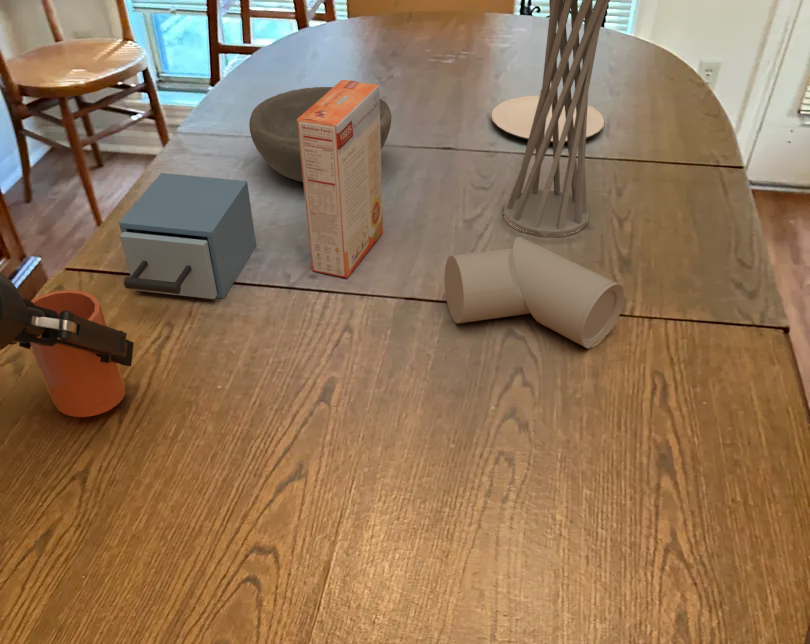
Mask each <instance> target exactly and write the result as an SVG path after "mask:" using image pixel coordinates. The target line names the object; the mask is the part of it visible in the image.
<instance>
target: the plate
mask: <svg viewBox="0 0 810 644" xmlns="http://www.w3.org/2000/svg"><path fill="white" fill-rule="evenodd" d="M559 97H560V96H558V99H559ZM539 98H540V95H524V96H519V97H514V98H510V99H507V100H504V101H502V102H500V103H499V104H498V105H497V106H495V107H494V108H493V110H492V111H491V114H490V115H491V120H492V123H493V124H494V125H495V126H496V127H497V128H498V129H499V130H500V131H503V132H504V133H506V134H508V135H511V136H514V137H516V138H518V139H523V140H527V141H528V139H529V136H530V132H531V128H532V124H533V120H534V117H535V113H536V109H537V105H538V101H539ZM551 118H552V105H551V107H550V110H549V112H548V115H547V118H546V125H545V133H546V131H547V128H548V125H549V123H550V120H551ZM575 119H576V107H575V110H574V114H573V124H574V125H575ZM565 121H566V117H565V105H564V107H563V110H562V112H561V115H560V118H559V120H558V128H559V140H560V137H561V134H562V131H563V127H564V124H565ZM604 126H605V119H604V117H603V115H602V113H600V112H599V111H598V110H597V109H596V108H595V107H593V106H591V105H589V104H588V106H587V127H586V139H589V138H591V137H594V136H596V135H598V134H599V133H600V132H601V131H602V129H603V128H604ZM544 136H545V134H544ZM551 143H552V144H553V136H552V138H551V141H550V143H549V144H551ZM565 143H568V141H567V136H566V140H565Z"/></svg>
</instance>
